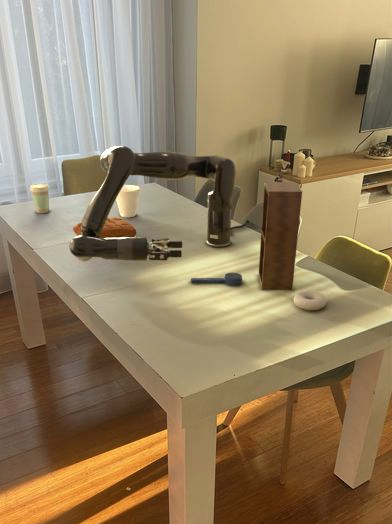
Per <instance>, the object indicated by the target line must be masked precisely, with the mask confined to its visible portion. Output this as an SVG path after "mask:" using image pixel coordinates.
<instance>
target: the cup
mask: <svg viewBox="0 0 392 524" xmlns="http://www.w3.org/2000/svg"><path fill="white" fill-rule="evenodd" d="M140 189H141V187H140V186H138V185H134V184H124V185H123V187H122V189H121V191H120V192H119V194H118V196H117V198H116V200H115V201H116V203H117V207H118V211H119V215H120V217H122V218H134V217H136V216H137V215H136V214H137V209H138V202H139V196H140Z"/></svg>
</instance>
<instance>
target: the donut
mask: <svg viewBox="0 0 392 524" xmlns="http://www.w3.org/2000/svg"><path fill="white" fill-rule="evenodd" d="M293 304H294V305H295V306H296V307H297V308H299V309H301V310H304V311H319V310H322V309H323V308H324V307H325V306H326V305H327V298H326V296H325V295H324V294H322V293H321V292H319V291H315V290H302V291H298V292H297V293H295V295H294V297H293Z"/></svg>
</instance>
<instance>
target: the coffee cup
mask: <svg viewBox="0 0 392 524" xmlns="http://www.w3.org/2000/svg"><path fill="white" fill-rule="evenodd" d="M29 191H30V193H31V197H32V200H33V201H32V202H33V204H34V209H35V212H36V213H37V214H46V213H49V212H50V188H49V185H48V184H46V183H33V184H31V185H30V188H29Z"/></svg>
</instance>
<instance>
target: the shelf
mask: <svg viewBox="0 0 392 524" xmlns="http://www.w3.org/2000/svg"><path fill="white" fill-rule="evenodd" d="M263 186H264V187H263V200H262V213H261V214H262V216H261V227H260V228H261V230H260V231H261V232H260V244H259V245H260V246H259V257H258V258H259V260H258V262H259V263H258V272H257V273H258V279H259V280H258V281H259V283H260V287H261V290H262V291H266V290H267V291H275V290H276V291H293V286H294V276H295V269H296V259H297V258H296V256H297V248H298V238H299V237H298V236H299V228H300V218H301V209H302V199H303V191H302V189H301V188H300V186H299V185H298V183H297V182H296V181H264V185H263Z"/></svg>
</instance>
